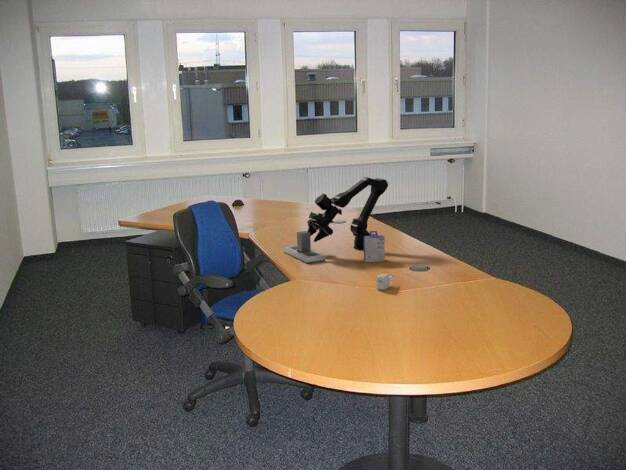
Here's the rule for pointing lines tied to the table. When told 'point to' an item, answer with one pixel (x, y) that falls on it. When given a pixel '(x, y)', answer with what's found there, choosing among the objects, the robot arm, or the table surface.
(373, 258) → the ink cartridge box
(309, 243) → the steel square peg
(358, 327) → the table surface
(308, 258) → the silver compartment tray
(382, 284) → the power adapter
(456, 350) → the table surface
